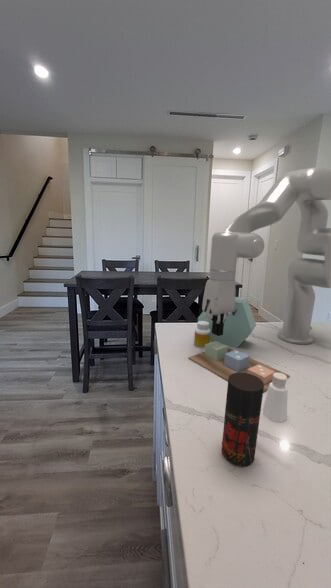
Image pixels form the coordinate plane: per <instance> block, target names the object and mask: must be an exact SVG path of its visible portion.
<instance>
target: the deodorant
mask: <svg viewBox="0 0 331 588" xmlns="http://www.w3.org/2000/svg"><path fill="white" fill-rule="evenodd" d="M263 389H264V383H263V381H262V380H261V379H260V378H258V377H257V376H254V375H252V374H248V373H234V374H231V375H230V376H229V378H228V381H227V389H226V401H225V408H224V409H225V410H224V421H223V431H222V441H221V455H222V457H223V459H224V460H226V462H228V463H229V464H231V465H232V466H234V467H237V468H248V467H250V466H251V465H252V464H253V463H254V461H255V457H256V448H257V441H258V435H259V434H258V433H259V426H260V419H261V411H262V403H263V394H264V393H263Z"/></svg>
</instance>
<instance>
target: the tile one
mask: <svg viewBox="0 0 331 588" xmlns="http://www.w3.org/2000/svg"><path fill="white" fill-rule="evenodd" d="M228 348H229V346H227V345H224V344H222V343H220V342H217V341H214V342H210V343H208V344H205V348H204V351H203V352H204V355H205V356H207V357H209V358H211V359H213V360H215V361H219V360H221V359H224V358H225V354H226V353H227V351H228Z"/></svg>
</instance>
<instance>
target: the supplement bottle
mask: <svg viewBox="0 0 331 588" xmlns="http://www.w3.org/2000/svg"><path fill="white" fill-rule="evenodd" d="M196 326H197V327H196V328H194V338H193V339H194V340H193V345H194V346H195V347H196V348H198V349H205V344H208V343H211V342H210V333H211V331H210V329H209V323H208V322H206V321H198V320H197V324H196Z"/></svg>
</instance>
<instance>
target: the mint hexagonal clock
mask: <svg viewBox="0 0 331 588" xmlns="http://www.w3.org/2000/svg"><path fill="white" fill-rule="evenodd" d="M233 313H234V314H233ZM205 315H206V312H204V311H203V310H202V312H201V313H200V315H199V316H198V317H197V322H198V321H206V322H208V323H209V329H210V331H211V333H210V343H211V342H214V341H217V342H220V343H222V344H224V345H226V346H228V347H232V348H236V349H237V348H238V347H239V346H240V345H241V344H242V343H243V342H244V341H245V340H246V339H247V338H248V337H249V336H251V334H252V333H253V332H254V330H255V329H256V326H257V324H256V320H255V317H254V314H253V311H252V308H251V304H250V301H249V299H248V298H245V297H238V296H235V306H234V309H233V310H232V312H231V314H229V315H227V317H226V321H225V322H223V323H224V327H223V335H220V336H217V335H215V334H212V321H211V319H208V318H205Z"/></svg>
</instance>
